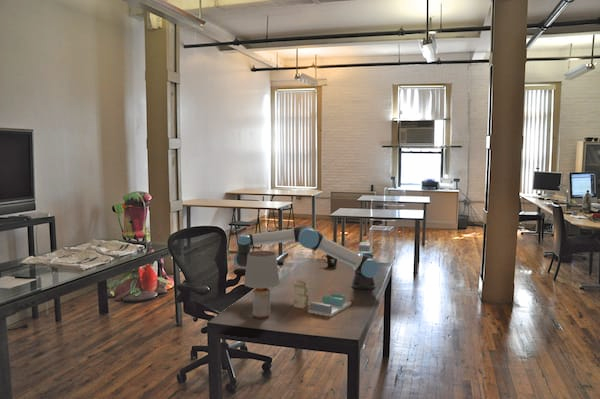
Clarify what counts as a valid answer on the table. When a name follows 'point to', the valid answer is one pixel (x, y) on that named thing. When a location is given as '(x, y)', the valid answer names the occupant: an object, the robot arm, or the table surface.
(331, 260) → the coffee mug
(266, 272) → the lamp
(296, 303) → the birch block
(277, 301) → the table surface
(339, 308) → the bed
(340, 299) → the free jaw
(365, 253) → the robot arm
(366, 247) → the hard drive box
